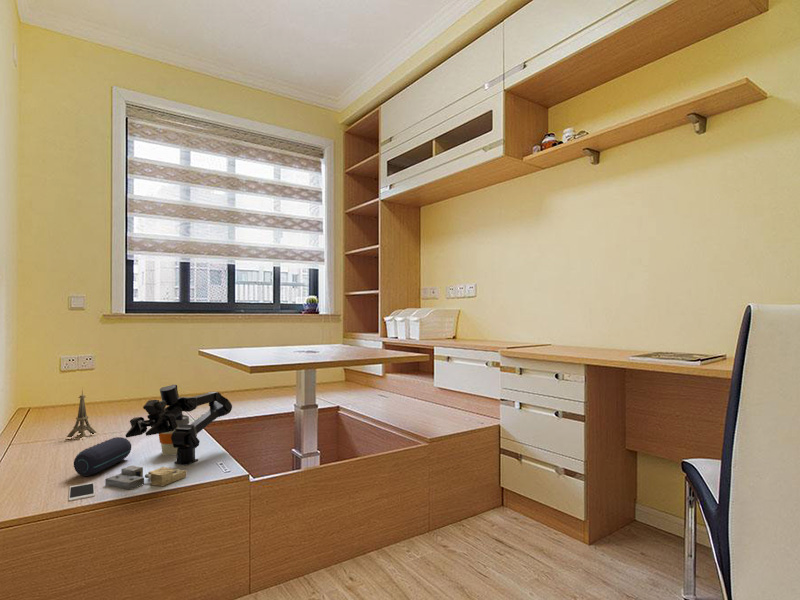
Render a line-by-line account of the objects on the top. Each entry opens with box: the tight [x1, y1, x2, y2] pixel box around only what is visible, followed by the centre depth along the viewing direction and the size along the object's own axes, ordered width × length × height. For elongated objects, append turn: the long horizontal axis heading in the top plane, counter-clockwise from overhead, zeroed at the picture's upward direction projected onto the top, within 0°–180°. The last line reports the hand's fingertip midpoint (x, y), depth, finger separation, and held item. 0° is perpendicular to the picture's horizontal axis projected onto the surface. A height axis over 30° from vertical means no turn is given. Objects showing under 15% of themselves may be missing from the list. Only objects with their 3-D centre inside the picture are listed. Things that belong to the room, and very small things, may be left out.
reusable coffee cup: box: [158, 414, 190, 456], centre depth 205 cm, size 13×13×15 cm
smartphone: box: [68, 481, 96, 502], centre depth 159 cm, size 7×15×1 cm, turn 34°
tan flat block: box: [144, 466, 187, 487], centre depth 170 cm, size 10×12×4 cm
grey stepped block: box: [104, 465, 145, 491], centre depth 167 cm, size 10×12×4 cm
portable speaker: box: [73, 436, 132, 477], centre depth 185 cm, size 25×10×10 cm, turn 179°
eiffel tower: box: [66, 387, 98, 438], centre depth 235 cm, size 11×11×25 cm
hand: (135, 435), depth 166 cm, fingers open, 9 cm apart
